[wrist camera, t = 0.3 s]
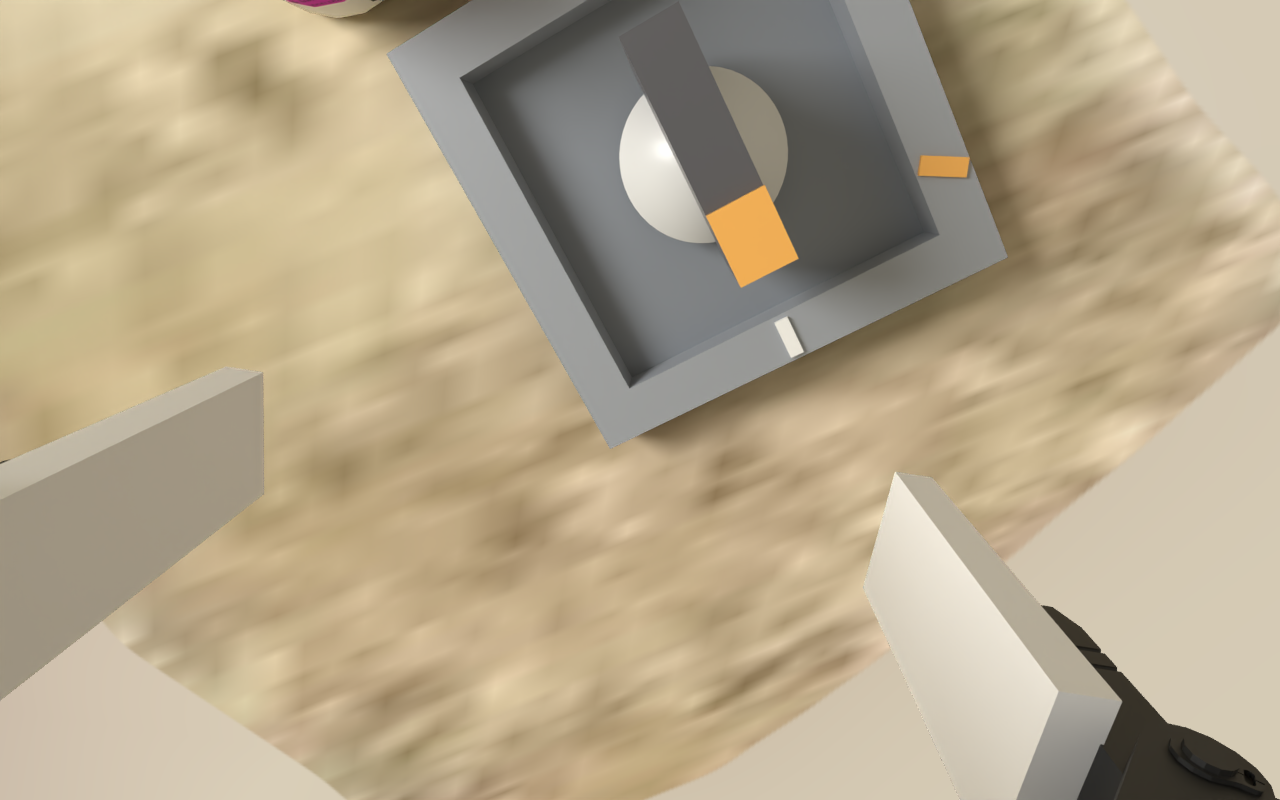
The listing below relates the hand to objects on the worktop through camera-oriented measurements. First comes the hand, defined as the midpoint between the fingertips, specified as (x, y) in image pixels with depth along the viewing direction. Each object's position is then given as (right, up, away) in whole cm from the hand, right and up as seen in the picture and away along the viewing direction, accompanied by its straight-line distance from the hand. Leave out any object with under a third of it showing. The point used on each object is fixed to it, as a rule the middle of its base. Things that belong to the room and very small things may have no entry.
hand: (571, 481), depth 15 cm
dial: (+4, +14, +21) cm, 26 cm away
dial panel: (+5, +14, +23) cm, 27 cm away
